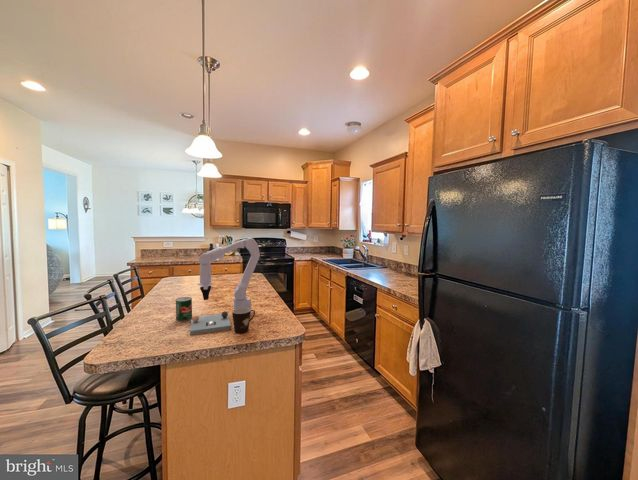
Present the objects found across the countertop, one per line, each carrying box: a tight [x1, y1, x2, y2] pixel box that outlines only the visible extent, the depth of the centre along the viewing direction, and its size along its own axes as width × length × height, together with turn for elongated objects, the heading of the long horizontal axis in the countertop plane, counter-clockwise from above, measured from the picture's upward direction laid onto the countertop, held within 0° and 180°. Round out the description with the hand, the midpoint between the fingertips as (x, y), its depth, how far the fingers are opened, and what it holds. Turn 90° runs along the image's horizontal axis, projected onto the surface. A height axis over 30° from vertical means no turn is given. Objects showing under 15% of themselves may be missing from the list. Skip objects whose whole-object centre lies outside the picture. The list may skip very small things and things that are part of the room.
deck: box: [189, 313, 232, 336], centre depth 136 cm, size 18×20×2 cm
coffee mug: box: [231, 308, 256, 335], centre depth 129 cm, size 12×9×10 cm
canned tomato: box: [175, 296, 193, 322], centre depth 145 cm, size 8×8×11 cm
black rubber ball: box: [221, 311, 229, 318], centre depth 142 cm, size 3×3×3 cm
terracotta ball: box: [191, 314, 199, 322], centre depth 135 cm, size 3×3×3 cm
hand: (205, 299), depth 147 cm, fingers closed
